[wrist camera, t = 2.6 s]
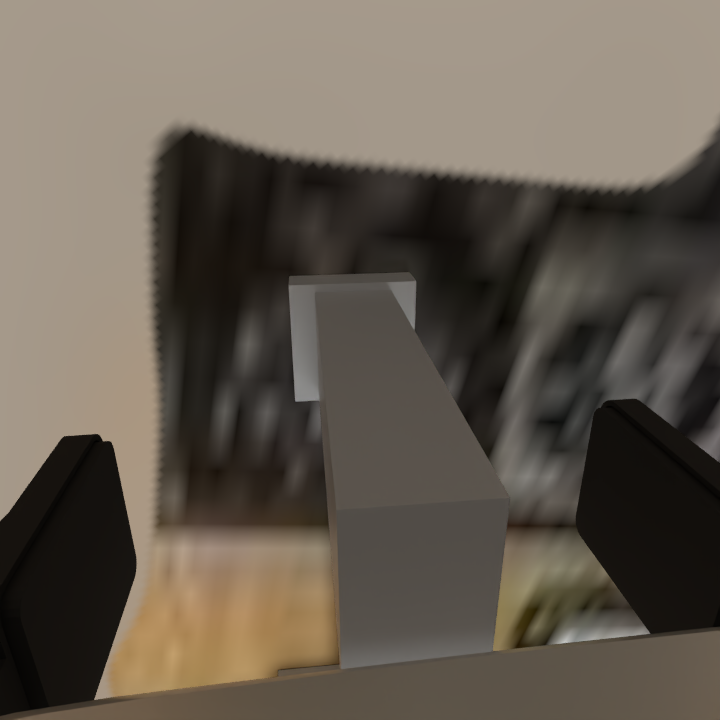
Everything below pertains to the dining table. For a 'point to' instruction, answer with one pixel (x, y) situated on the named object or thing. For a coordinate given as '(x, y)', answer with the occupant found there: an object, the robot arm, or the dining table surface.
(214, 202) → the dining table surface
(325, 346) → the grey parking meter
